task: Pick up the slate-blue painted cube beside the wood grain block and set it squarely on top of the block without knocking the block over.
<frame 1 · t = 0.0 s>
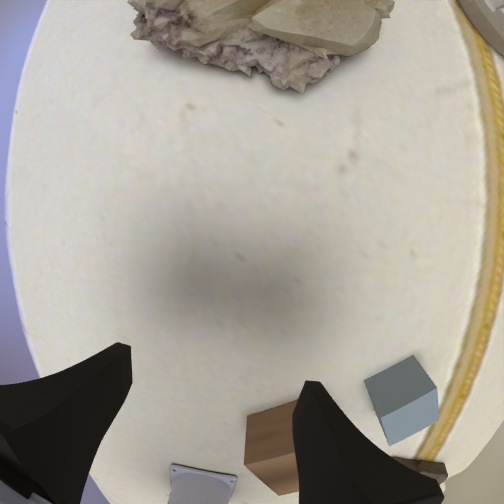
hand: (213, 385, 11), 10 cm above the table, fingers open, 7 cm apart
flat brown rock: (382, 483, 28), on the table
wood grain block: (296, 424, 24), on the table
flag stand: (492, 17, 13), on the table
geode: (258, 20, 16), on the table
slate cube: (393, 384, 22), on the table
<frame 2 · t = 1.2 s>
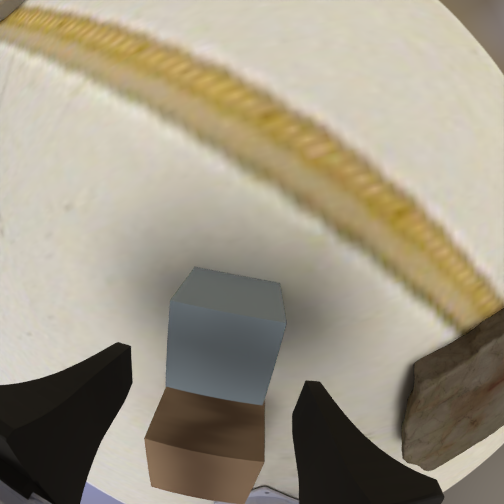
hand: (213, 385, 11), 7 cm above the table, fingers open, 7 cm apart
flat brown rock: (466, 381, 19), on the table
wood grain block: (211, 419, 20), on the table
slate cube: (230, 312, 17), on the table
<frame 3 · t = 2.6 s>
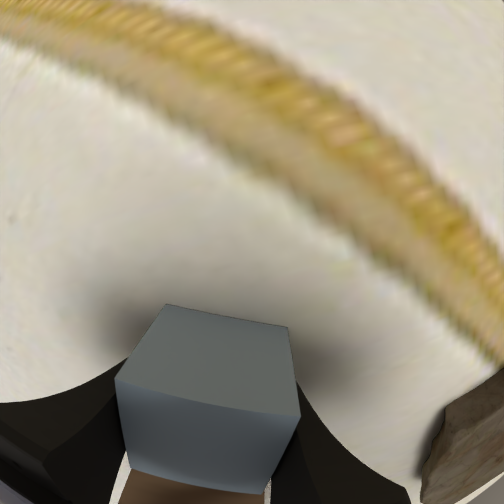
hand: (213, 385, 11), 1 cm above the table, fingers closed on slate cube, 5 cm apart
flat brown rock: (493, 414, 14), on the table
wood grain block: (201, 471, 15), on the table
slate cube: (217, 365, 12), on the table, touching gripper
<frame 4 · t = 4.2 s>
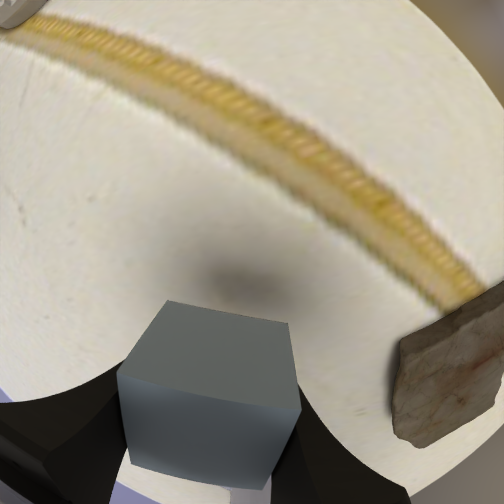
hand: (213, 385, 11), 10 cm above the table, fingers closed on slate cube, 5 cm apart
flat brown rock: (452, 362, 22), on the table
slate cube: (218, 361, 12), point 8 cm above the table, touching gripper
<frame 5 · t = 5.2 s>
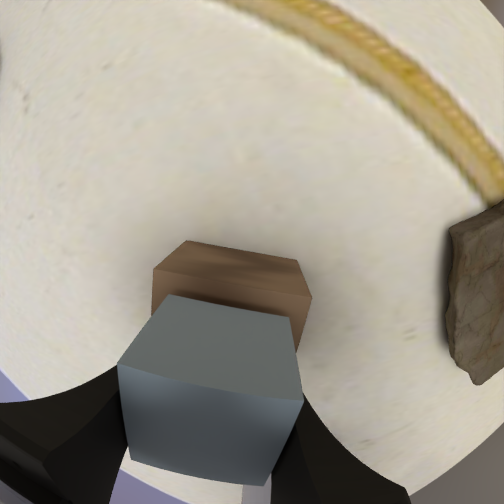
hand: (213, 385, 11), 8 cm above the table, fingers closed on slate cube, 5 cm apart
flat brown rock: (499, 276, 18), on the table
wood grain block: (232, 300, 19), on the table
slate cube: (219, 355, 12), point 7 cm above the table, touching gripper
when the fingers open (8 cm above the table, at t = 6.0 s): slate cube stays where it is, resting on wood grain block.
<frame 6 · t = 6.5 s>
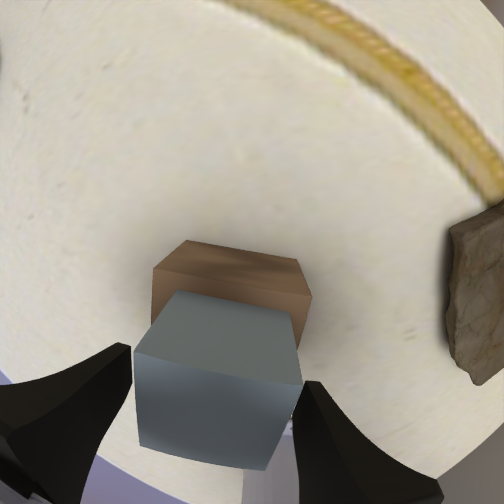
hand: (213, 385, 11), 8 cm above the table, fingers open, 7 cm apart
flat brown rock: (499, 277, 18), on the table
wood grain block: (232, 300, 19), on the table, touching slate cube
slate cube: (223, 348, 13), point 6 cm above the table, touching wood grain block
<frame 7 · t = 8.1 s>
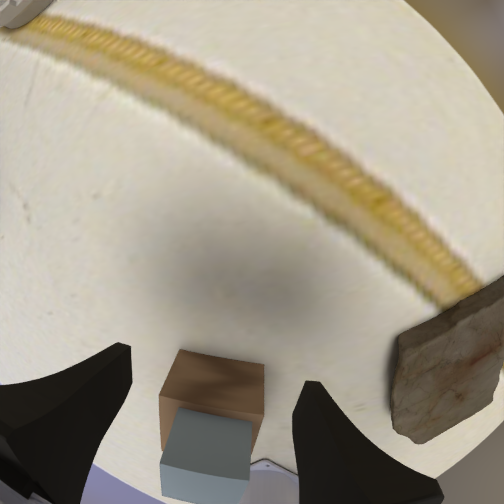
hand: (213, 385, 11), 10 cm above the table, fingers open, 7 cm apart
flat brown rock: (450, 358, 23), on the table
wood grain block: (217, 387, 23), on the table, touching slate cube
slate cube: (211, 436, 17), point 6 cm above the table, touching wood grain block
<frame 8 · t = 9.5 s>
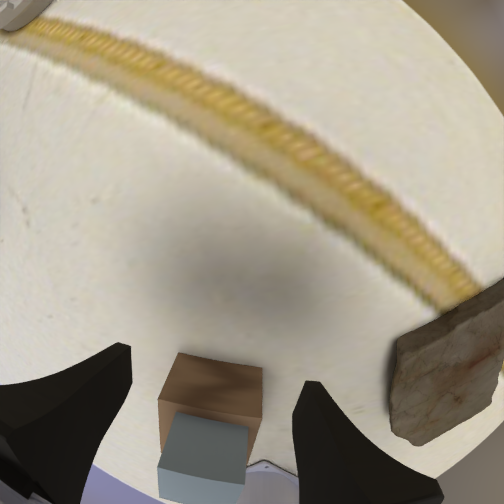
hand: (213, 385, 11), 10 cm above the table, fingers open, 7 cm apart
flat brown rock: (449, 361, 23), on the table
wood grain block: (215, 390, 23), on the table, touching slate cube
slate cube: (208, 439, 18), point 6 cm above the table, touching wood grain block
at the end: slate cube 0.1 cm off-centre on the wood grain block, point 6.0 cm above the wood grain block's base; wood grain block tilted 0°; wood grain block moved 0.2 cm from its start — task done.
